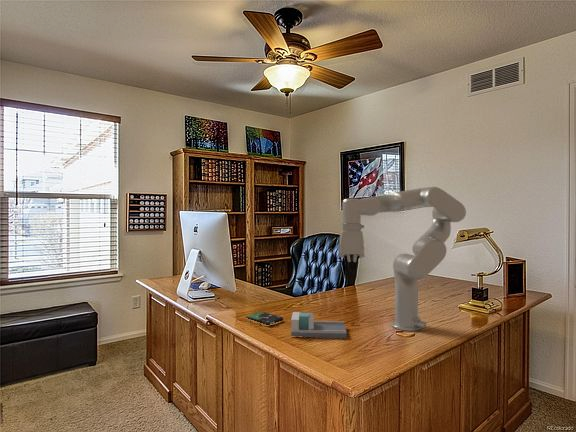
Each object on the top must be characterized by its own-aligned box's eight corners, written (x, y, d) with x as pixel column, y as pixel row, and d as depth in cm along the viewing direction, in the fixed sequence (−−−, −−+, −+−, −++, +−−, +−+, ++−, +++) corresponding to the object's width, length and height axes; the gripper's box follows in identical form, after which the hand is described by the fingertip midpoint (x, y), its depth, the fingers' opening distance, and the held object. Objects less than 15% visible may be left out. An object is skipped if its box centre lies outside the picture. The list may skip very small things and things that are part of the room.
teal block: (309, 325, 153) (308, 312, 153) (308, 329, 148) (308, 316, 148) (299, 325, 153) (299, 312, 153) (299, 329, 148) (298, 316, 148)
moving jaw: (313, 323, 155) (313, 313, 155) (313, 331, 145) (313, 320, 145) (309, 323, 155) (309, 313, 155) (308, 331, 146) (308, 320, 145)
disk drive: (283, 323, 165) (260, 316, 175) (283, 317, 165) (260, 310, 175) (268, 328, 158) (244, 321, 167) (268, 322, 157) (244, 315, 167)
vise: (344, 328, 155) (344, 312, 155) (346, 338, 143) (346, 320, 143) (293, 327, 157) (292, 311, 157) (291, 337, 145) (291, 320, 145)
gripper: (368, 227, 156) (368, 269, 156) (333, 227, 157) (333, 269, 157) (370, 228, 148) (371, 272, 149) (334, 228, 149) (334, 272, 150)
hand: (351, 271), depth 153 cm, fingers closed
